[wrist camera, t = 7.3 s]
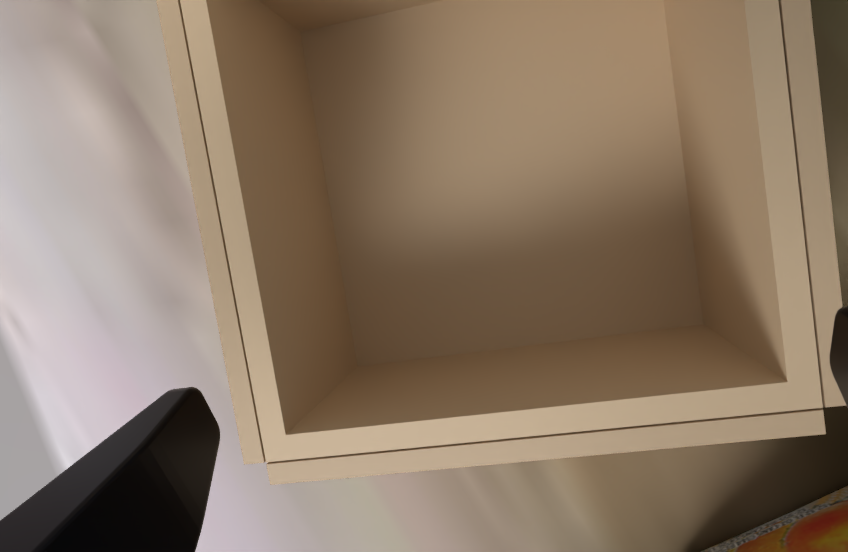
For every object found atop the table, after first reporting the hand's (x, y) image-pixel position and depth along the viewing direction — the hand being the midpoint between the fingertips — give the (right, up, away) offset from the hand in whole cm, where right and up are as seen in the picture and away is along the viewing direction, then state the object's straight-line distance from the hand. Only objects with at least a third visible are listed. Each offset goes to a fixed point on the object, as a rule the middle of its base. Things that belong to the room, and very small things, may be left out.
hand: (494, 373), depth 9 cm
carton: (+1, +5, +11) cm, 12 cm away
